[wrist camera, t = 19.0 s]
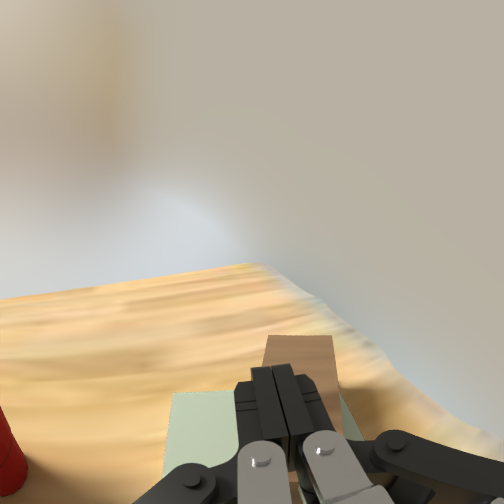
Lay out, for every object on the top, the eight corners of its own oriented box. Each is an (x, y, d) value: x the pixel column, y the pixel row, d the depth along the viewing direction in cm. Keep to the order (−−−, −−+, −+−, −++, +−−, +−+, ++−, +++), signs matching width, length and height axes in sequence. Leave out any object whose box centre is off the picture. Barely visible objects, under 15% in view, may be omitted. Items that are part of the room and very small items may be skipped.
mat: (425, 572, 5) (429, 570, 5) (159, 617, 4) (156, 617, 4) (331, 380, 24) (331, 376, 24) (174, 397, 23) (173, 392, 23)
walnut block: (346, 480, 10) (331, 335, 22) (236, 477, 11) (268, 335, 23) (330, 515, 11) (326, 382, 23) (244, 512, 12) (269, 381, 24)
